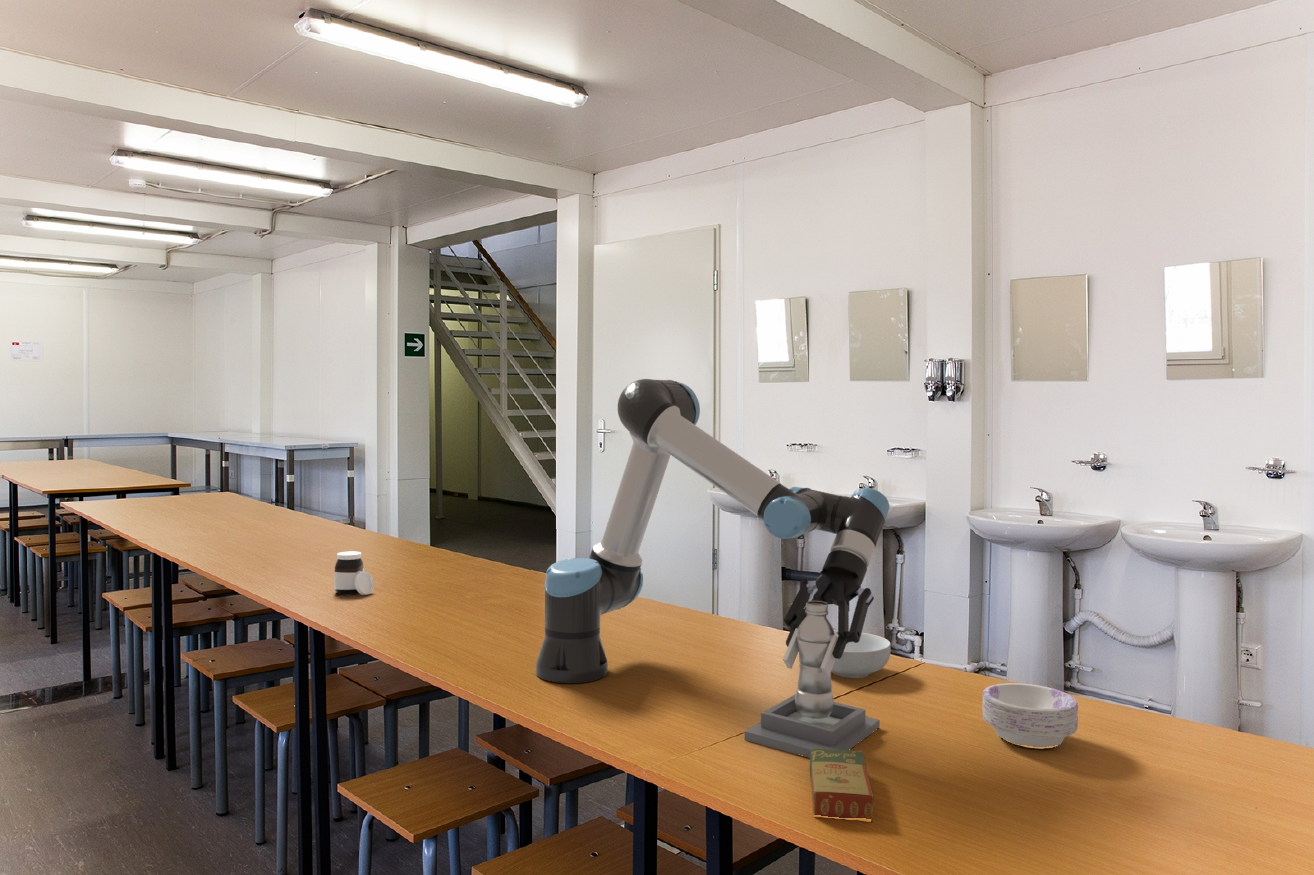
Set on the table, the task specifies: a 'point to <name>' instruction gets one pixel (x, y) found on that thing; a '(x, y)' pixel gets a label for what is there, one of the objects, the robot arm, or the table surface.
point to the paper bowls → (1030, 713)
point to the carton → (840, 784)
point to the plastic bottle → (814, 663)
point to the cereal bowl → (863, 656)
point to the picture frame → (811, 728)
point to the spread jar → (351, 574)
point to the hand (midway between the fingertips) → (805, 668)
